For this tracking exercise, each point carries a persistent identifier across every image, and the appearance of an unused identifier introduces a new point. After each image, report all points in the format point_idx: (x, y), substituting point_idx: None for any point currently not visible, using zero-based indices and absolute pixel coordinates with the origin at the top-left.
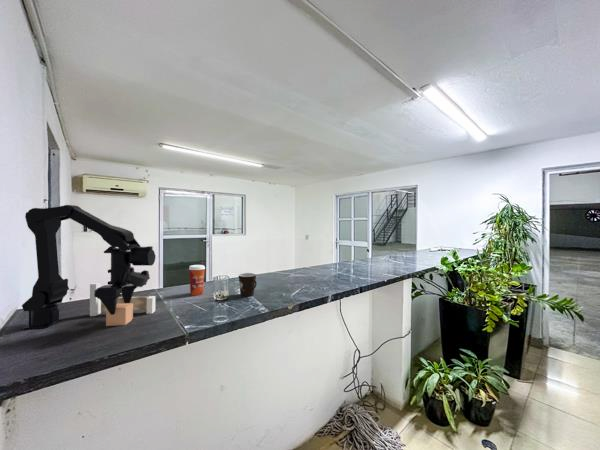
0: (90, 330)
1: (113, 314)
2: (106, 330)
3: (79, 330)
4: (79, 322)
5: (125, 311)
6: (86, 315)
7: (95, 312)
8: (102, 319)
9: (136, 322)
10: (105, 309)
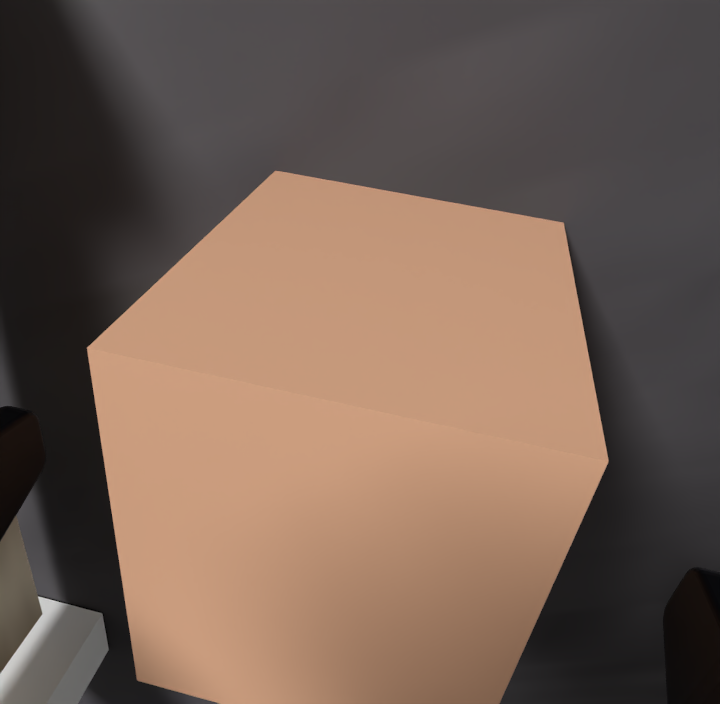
0: (591, 594)
1: (713, 581)
2: (709, 442)
3: (533, 669)
4: None
5: (590, 385)
6: None
7: (78, 653)
8: None
9: (496, 28)
10: (17, 607)
